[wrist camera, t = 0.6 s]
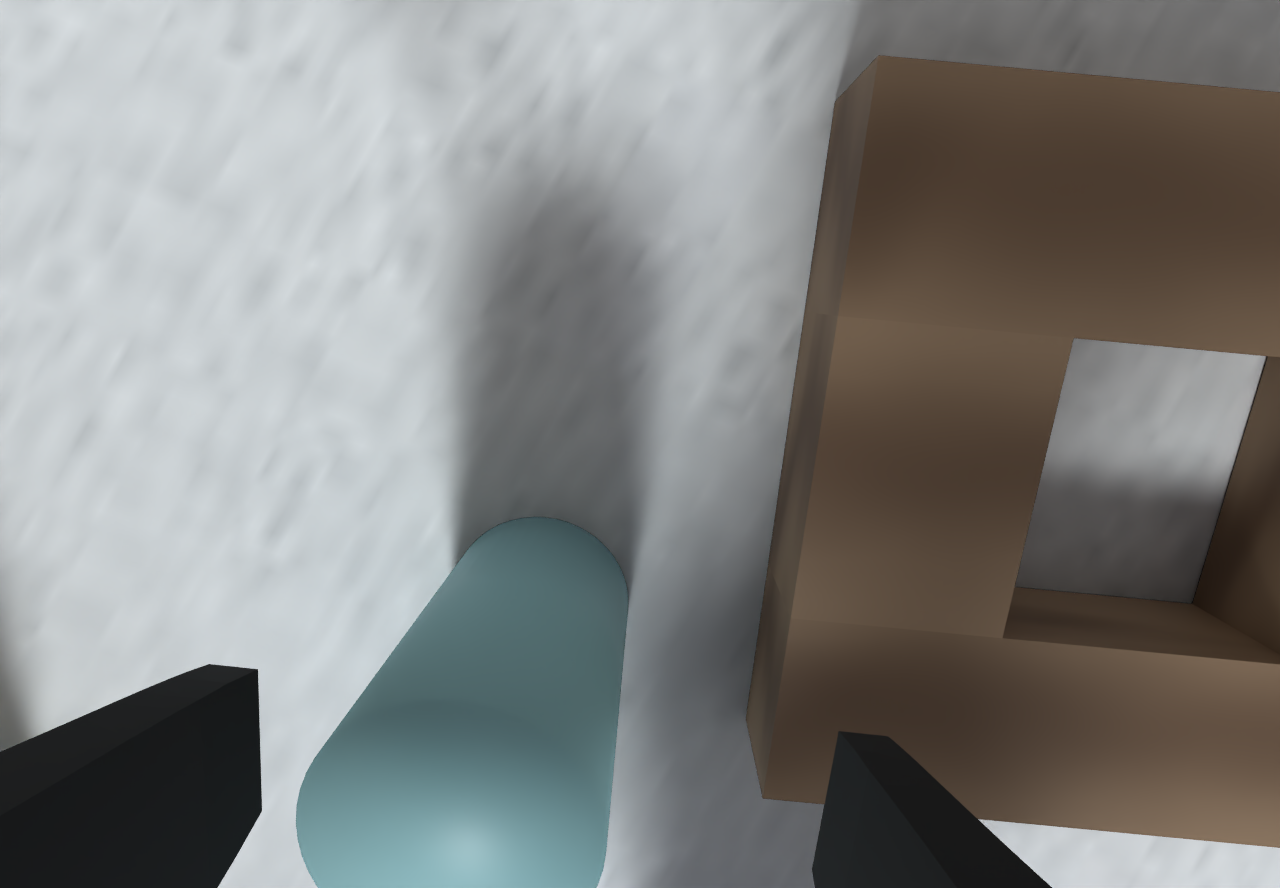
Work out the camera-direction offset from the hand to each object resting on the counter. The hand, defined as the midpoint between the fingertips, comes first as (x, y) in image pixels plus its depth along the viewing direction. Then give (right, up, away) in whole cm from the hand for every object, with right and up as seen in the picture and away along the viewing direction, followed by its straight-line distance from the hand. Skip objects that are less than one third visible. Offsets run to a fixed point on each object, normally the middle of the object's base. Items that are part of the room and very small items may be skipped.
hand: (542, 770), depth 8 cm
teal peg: (-2, 0, +10) cm, 10 cm away
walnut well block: (+13, +3, +9) cm, 16 cm away
